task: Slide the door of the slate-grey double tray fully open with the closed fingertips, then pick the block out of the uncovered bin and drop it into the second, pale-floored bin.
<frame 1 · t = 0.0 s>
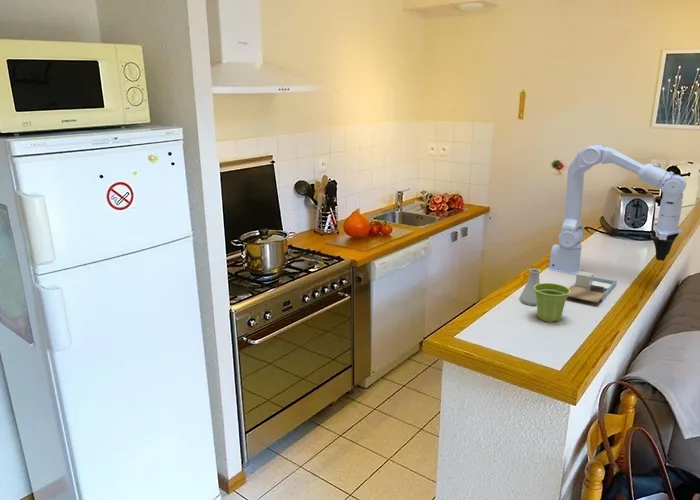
hand: (662, 257, 168), 10 cm above the worktop, fingers open, 7 cm apart
flask: (531, 302, 160), on the worktop
block: (583, 290, 167), resting on tray
tray: (591, 290, 168), on the worktop
plant pot: (548, 318, 148), on the worktop
door: (584, 291, 160), point 3 cm above the worktop, slide at 5.0 cm
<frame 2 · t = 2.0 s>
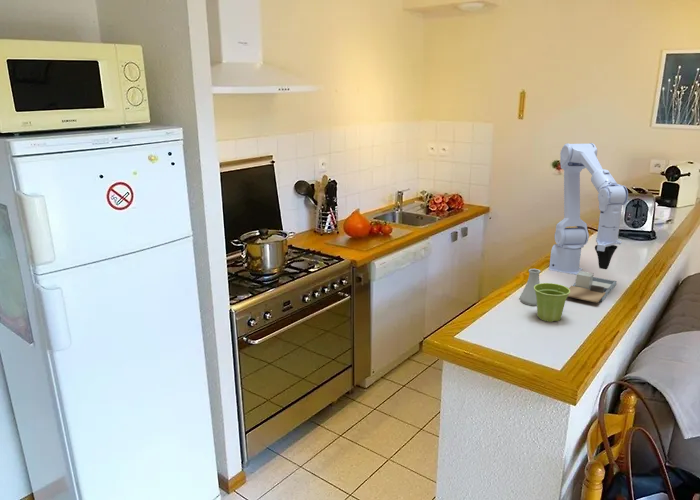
hand: (603, 268, 164), 8 cm above the worktop, fingers closed
nothing on the worktop moved.
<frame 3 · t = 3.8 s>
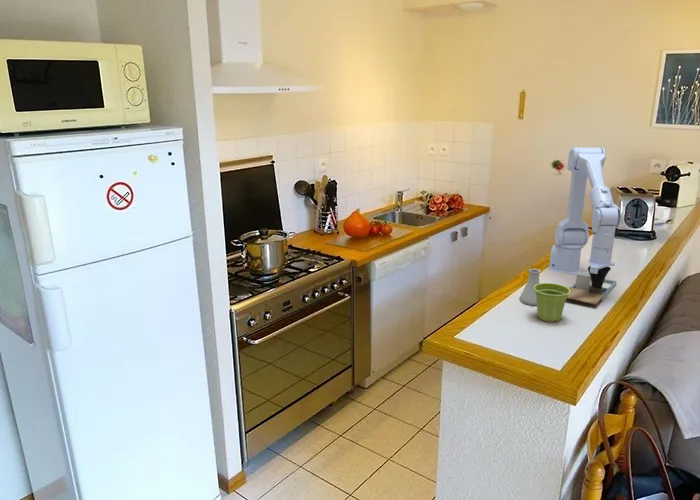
hand: (596, 289, 161), 3 cm above the worktop, fingers closed
door: (582, 293, 159), point 3 cm above the worktop, slide at 6.7 cm, touching gripper
everything else where it was.
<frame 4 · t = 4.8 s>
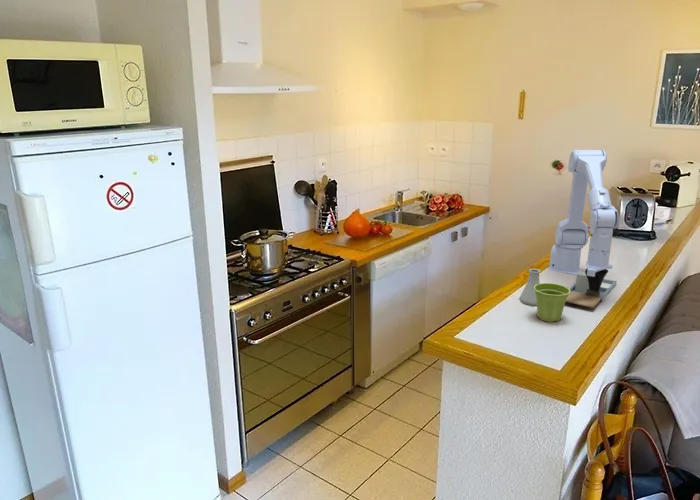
hand: (593, 292, 159), 3 cm above the worktop, fingers closed
door: (580, 296, 156), point 3 cm above the worktop, slide at 9.7 cm, touching gripper
everything else where it was.
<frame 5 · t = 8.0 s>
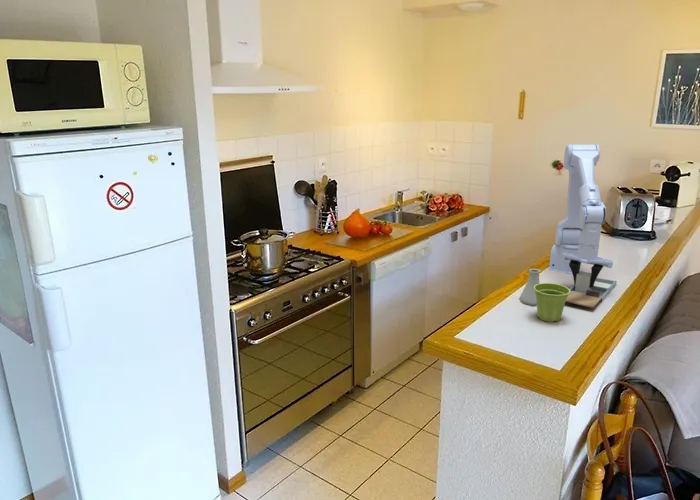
hand: (583, 285, 167), 2 cm above the worktop, fingers closed on block, 4 cm apart
block: (583, 290, 167), resting on tray, touching gripper
door: (580, 296, 156), point 3 cm above the worktop, slide at 9.7 cm
everything else where it was.
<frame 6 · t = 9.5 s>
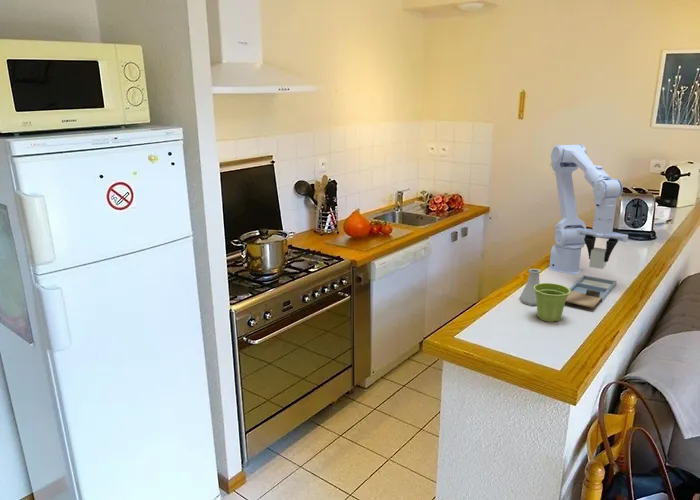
hand: (598, 259, 169), 9 cm above the worktop, fingers closed on block, 4 cm apart
block: (597, 266, 169), point 7 cm above the worktop, touching gripper
everything else where it was.
when the fingers open (4 cm above the worktop, at t = 10.9 s): block drops 1 cm, resting on tray.
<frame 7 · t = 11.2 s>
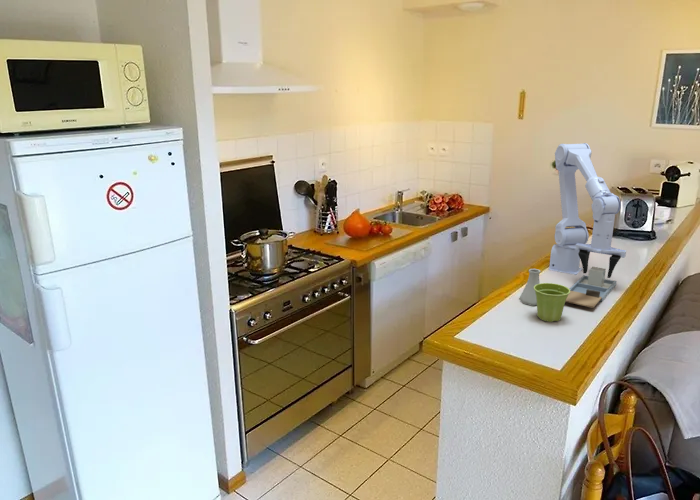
hand: (597, 274, 170), 4 cm above the worktop, fingers open, 7 cm apart
block: (595, 285, 171), resting on tray
everything else where it was.
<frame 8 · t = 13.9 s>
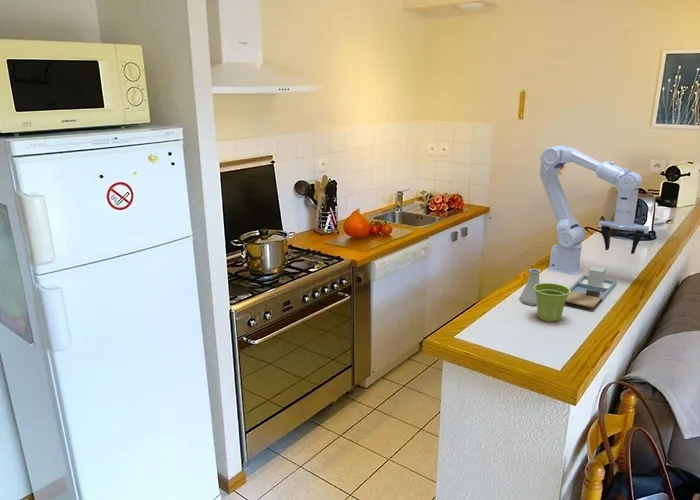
hand: (619, 251, 173), 10 cm above the worktop, fingers open, 7 cm apart
nothing on the worktop moved.
at the end: block inside the target area (0.3 cm from its centre), point 0.5 cm above the worktop; door slide at 9.7 cm; the gripper is holding nothing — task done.
